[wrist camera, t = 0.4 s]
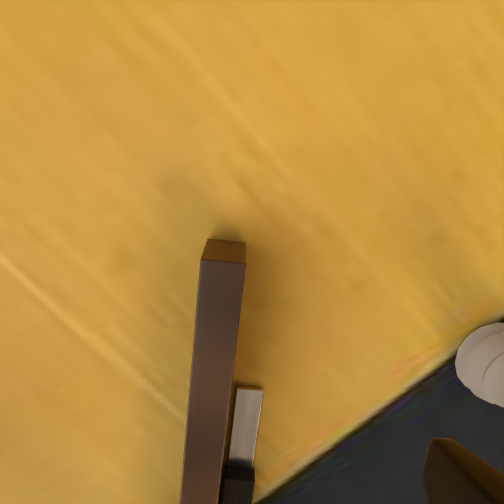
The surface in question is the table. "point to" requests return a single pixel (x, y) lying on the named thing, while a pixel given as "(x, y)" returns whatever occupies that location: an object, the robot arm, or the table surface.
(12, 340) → the table surface
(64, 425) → the table surface
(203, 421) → the walnut rail
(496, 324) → the rook chess piece
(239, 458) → the letter opener
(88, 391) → the table surface
